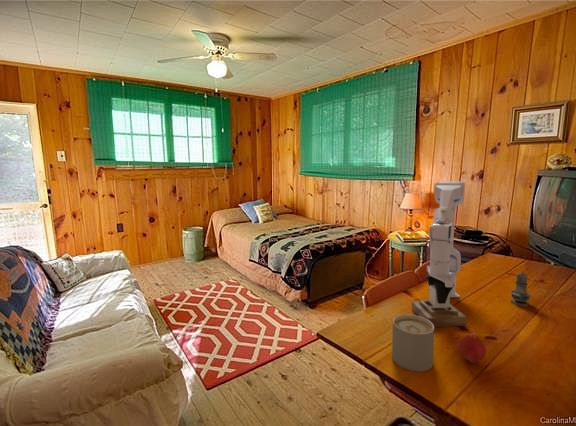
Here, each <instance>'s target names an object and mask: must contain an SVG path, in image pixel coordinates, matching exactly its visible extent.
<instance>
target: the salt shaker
mask: <svg viewBox="0 0 576 426" xmlns="http://www.w3.org/2000/svg"><path fill="white" fill-rule="evenodd" d="M514 283H515V288H514V289H513V290H511V291H510V295H511V297H512V298H513V299H511V300H510V302H511V304H513V305H516V306H519V307H529V306H530V303H529V302H528V301H529V300H530V298H531V297H532V294H530V293H529V292H528V291H527V287H528V276H527V274H525V273H524V271H523V270H522V271H521V272H520V273H518V274H516V281H515V282H514Z"/></svg>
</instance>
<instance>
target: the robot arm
mask: <svg viewBox="0 0 576 426" xmlns="http://www.w3.org/2000/svg"><path fill="white" fill-rule="evenodd" d="M465 187H466V184H465V182H464V181H462V180H461V181H438V180H437V181H435V182H434V188H433V196H434V198H435V199H434V200H435V203H437V204H438V205H439V207H438V208H437V209H435V211H434V215H433V221H432V224H430V225H429V230H428V238H429V247H430V250H429V251H430V253H429V265H427V266H426V272H428V274H425V275H424V277H425V279H426V281H427V283H428V288H427V289H428V290H430V285H434V286H435V288H436V292H437V301H438V303H439V304H445V303H446V300H447V297H448V295H449V293H450V298H460V297H461V295H460V294H458V293H457V292H456V285H457V284H456V282H457V281H456V280H457V274H459V273H460V272H461V264H462V263H461V261H462V260H461V256H462V255H461V252H460V251H459V250H458V249H456V248H455V247H454V238H455V237H454V235H455V224H456V223H455V219H456V209H457V208H458V206H460V205H462V204H463V203H464V200H465V199H464V197H465Z"/></svg>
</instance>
